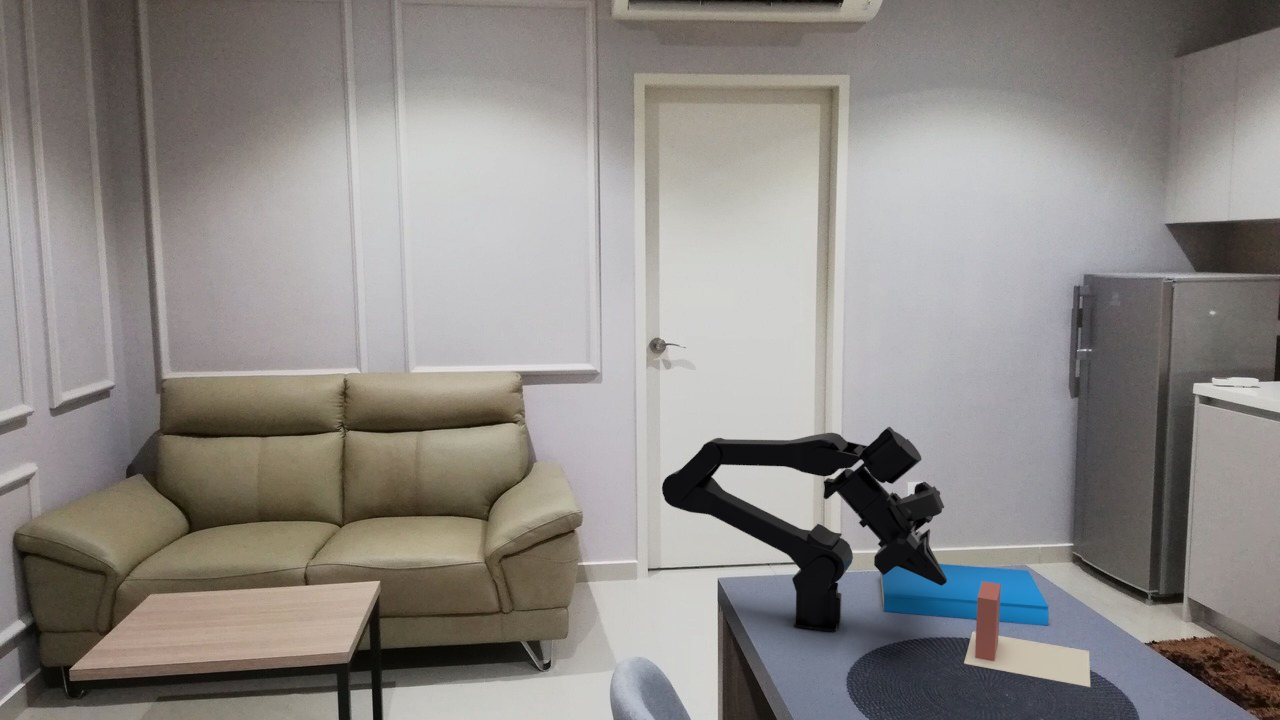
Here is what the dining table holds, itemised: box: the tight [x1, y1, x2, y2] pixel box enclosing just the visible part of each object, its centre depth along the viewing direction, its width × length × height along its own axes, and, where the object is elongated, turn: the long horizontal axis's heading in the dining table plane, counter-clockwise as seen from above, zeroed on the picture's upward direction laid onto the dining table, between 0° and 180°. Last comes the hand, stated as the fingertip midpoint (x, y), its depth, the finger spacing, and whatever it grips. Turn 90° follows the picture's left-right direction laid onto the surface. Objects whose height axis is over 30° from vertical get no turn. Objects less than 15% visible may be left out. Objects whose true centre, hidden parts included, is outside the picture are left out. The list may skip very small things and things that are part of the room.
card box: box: [975, 581, 1001, 661], centre depth 130 cm, size 3×7×9 cm, turn 154°
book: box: [879, 563, 1050, 626], centre depth 150 cm, size 17×4×25 cm
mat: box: [963, 631, 1091, 688], centre depth 128 cm, size 16×12×1 cm
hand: (944, 583), depth 132 cm, fingers closed
